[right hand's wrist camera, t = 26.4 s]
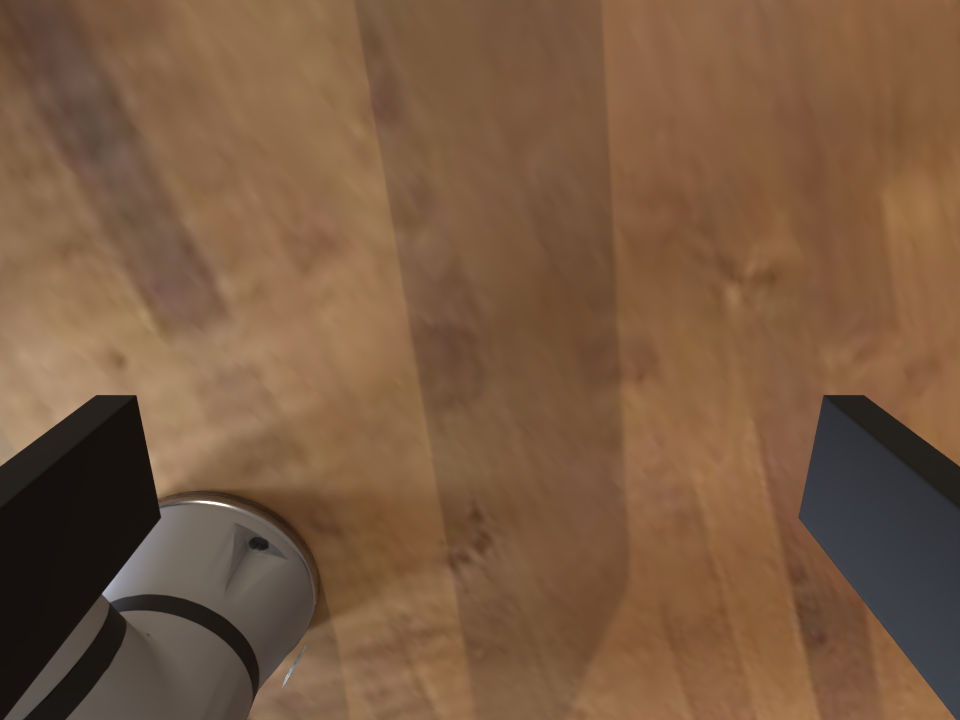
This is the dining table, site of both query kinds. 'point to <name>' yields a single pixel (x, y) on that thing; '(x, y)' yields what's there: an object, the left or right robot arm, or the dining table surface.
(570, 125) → the dining table surface
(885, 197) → the dining table surface
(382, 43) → the dining table surface
